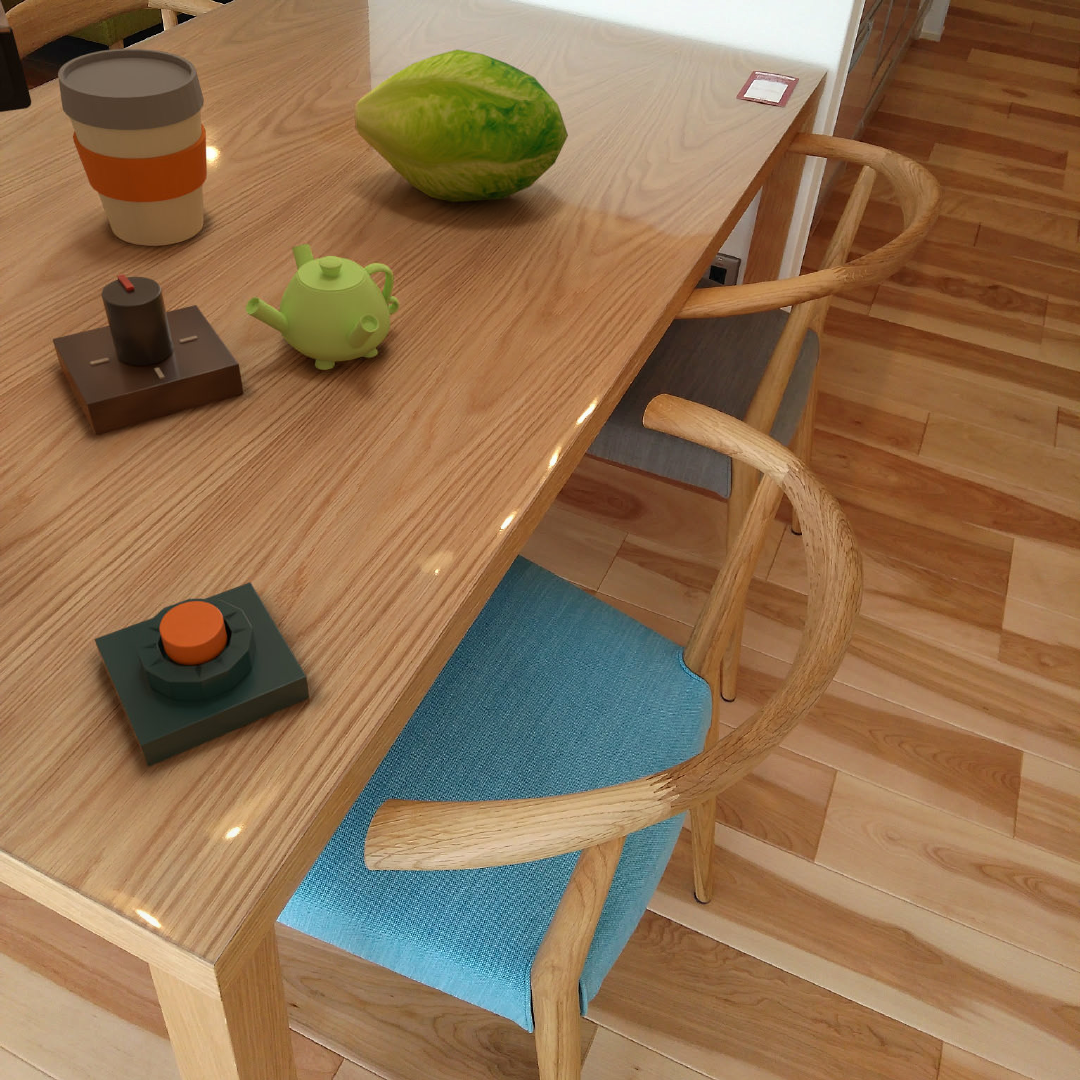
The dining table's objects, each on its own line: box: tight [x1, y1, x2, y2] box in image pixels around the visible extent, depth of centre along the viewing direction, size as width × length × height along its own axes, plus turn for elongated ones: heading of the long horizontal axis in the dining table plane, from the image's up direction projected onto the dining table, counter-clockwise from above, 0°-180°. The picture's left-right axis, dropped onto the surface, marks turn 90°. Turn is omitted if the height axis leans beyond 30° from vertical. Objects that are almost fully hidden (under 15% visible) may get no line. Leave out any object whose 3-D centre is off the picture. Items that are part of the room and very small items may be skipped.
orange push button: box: [160, 601, 227, 665], centre depth 60 cm, size 4×4×2 cm
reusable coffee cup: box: [57, 48, 208, 247], centre depth 99 cm, size 13×13×15 cm
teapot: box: [245, 243, 400, 371], centre depth 88 cm, size 11×12×8 cm
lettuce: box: [353, 49, 569, 203], centre depth 109 cm, size 15×23×16 cm
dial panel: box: [52, 304, 244, 435], centre depth 84 cm, size 12×10×3 cm
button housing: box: [94, 581, 310, 768], centre depth 62 cm, size 10×9×4 cm
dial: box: [101, 273, 173, 366], centre depth 81 cm, size 4×4×6 cm
